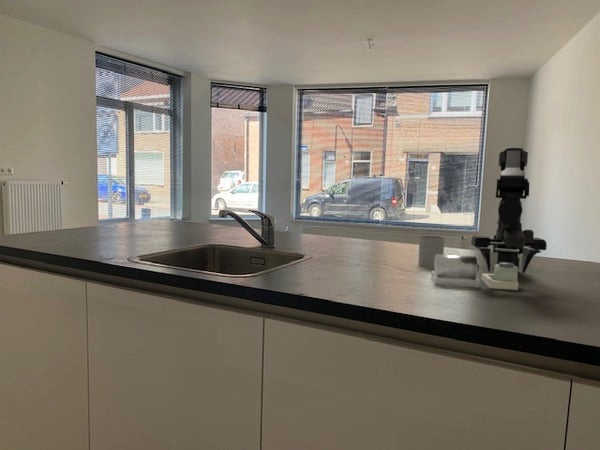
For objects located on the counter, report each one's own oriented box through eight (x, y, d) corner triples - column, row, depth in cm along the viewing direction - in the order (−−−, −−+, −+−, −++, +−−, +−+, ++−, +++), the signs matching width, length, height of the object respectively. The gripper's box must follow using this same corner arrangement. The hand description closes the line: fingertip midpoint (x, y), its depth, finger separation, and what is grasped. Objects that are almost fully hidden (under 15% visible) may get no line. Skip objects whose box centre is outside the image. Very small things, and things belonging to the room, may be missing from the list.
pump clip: (490, 288, 117) (490, 281, 117) (481, 279, 127) (482, 273, 127) (517, 289, 116) (518, 282, 115) (507, 281, 126) (507, 274, 125)
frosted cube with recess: (496, 287, 119) (498, 265, 118) (491, 282, 124) (492, 261, 124) (519, 288, 117) (520, 266, 117) (512, 283, 123) (514, 262, 123)
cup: (442, 263, 152) (444, 236, 151) (442, 267, 145) (444, 239, 144) (419, 261, 155) (420, 235, 154) (417, 265, 147) (418, 237, 146)
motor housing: (435, 284, 120) (436, 257, 119) (431, 277, 130) (432, 251, 129) (481, 287, 118) (483, 259, 117) (473, 279, 127) (475, 253, 126)
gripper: (480, 219, 113) (477, 276, 115) (556, 222, 109) (552, 280, 111) (472, 216, 124) (469, 268, 125) (541, 218, 120) (537, 271, 122)
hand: (505, 272), depth 121 cm, fingers open, 9 cm apart
